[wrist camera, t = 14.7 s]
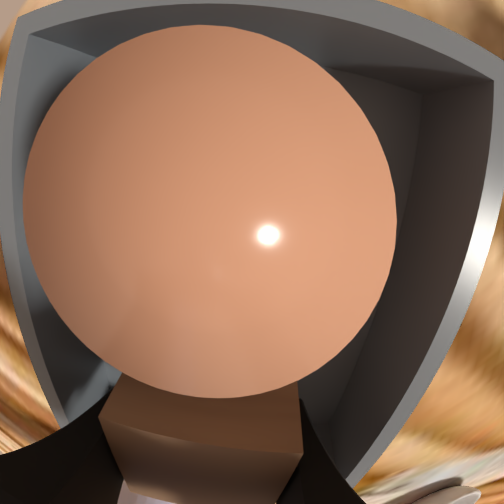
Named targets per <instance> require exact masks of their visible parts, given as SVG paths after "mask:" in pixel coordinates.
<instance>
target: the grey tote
mask: <svg viewBox="0 0 504 504" xmlns="http://www.w3.org/2000/svg"><path fill="white" fill-rule="evenodd" d="M190 25H213V26H226V27H233V28H237V29H242V30H246V31H250V32H254V33H258V34H261V35H264V36H266V37H269V38H271V39H274V40H276V41H279V42H281V43H283V44H286V45H288V46H290V47H291V48H293V49H295V50H296V51H298V52H300V53H301V54H303V55H305V56H306V57H308V58H309V59H311V60H313V61H314V62H316V63H317V64H318V65H319V66H320V67H322V68H323V69H324V70H325V71H326V72H327V73H329V74H330V75H331V76H332V77H333V78H334V79H335V80H337V81H338V82H339V83H340V84H341V85H342V86H343V88H344V89H345V90H346V91H347V92H348V93H349V95H350V96H351V97H352V98H353V99H354V101H355V102H356V103H357V104H358V106H359V107H360V108H361V110H362V111H363V113H364V115H365V116H366V118H367V120H368V121H369V123H370V125H371V126H372V128H373V130H374V131H375V133H376V135H377V137H378V140H379V142H380V144H381V147H382V149H383V152H384V154H385V157H386V160H387V162H388V166H389V170H390V174H391V178H392V182H393V187H394V192H395V202H396V216H397V226H396V240H395V250H394V254H393V259H392V263H391V267H390V272H389V275H388V278H387V281H386V283H385V286H384V288H383V291H382V294H381V296H380V298H379V300H378V302H377V304H376V306H375V308H374V309H373V311H372V313H371V315H370V316H369V318H368V320H367V321H366V322H365V324H364V325H363V326H362V328H361V329H360V330H359V332H358V333H357V334H356V336H355V337H354V338H353V339H352V340H351V341H350V342H349V343H348V344H347V345H346V346H345V347H344V348H343V349H342V350H341V351H340V352H339V353H338V354H337V355H336V356H335V357H333V358H332V359H331V360H330V361H328V362H327V363H326V364H324V365H323V366H322V367H320V368H319V369H317V370H316V371H314V372H312V373H310V374H309V375H307V376H305V377H303V378H302V379H300V380H298V381H297V385H298V395H299V398H301V399H302V400H303V402H304V405H305V407H306V410H307V412H308V415H309V417H310V419H311V422H312V424H313V426H314V428H315V430H316V432H317V434H318V436H319V438H320V440H321V442H322V444H323V446H324V447H325V449H326V451H327V453H328V454H329V456H330V458H331V459H332V461H333V462H334V464H335V466H336V467H337V469H338V470H339V472H340V473H341V474H342V476H343V477H344V478H345V480H346V481H347V482H348V484H349V485H350V486H351V487H352V489H353V488H354V486H355V485H356V484H357V483H358V482H359V481H360V480H361V479H362V478H363V476H364V475H365V474H366V473H367V472H368V471H369V469H370V468H371V467H372V466H373V465H374V463H375V462H376V461H377V460H378V459H379V457H380V456H381V455H382V453H383V452H384V451H385V450H386V448H387V447H388V446H389V444H390V443H391V442H392V440H393V439H394V438H395V436H396V435H397V434H398V432H399V431H400V429H401V428H402V427H403V425H404V424H405V422H406V421H407V419H408V418H409V416H410V415H411V414H412V412H413V410H414V409H415V407H416V406H417V404H418V403H419V401H420V400H421V398H422V396H423V395H424V393H425V391H426V390H427V388H428V386H429V385H430V383H431V381H432V380H433V378H434V376H435V374H436V373H437V371H438V369H439V367H440V365H441V363H442V362H443V360H444V358H445V356H446V354H447V352H448V350H449V348H450V346H451V344H452V342H453V340H454V338H455V336H456V334H457V332H458V329H459V327H460V325H461V323H462V321H463V318H464V316H465V314H466V311H467V309H468V307H469V304H470V302H471V299H472V297H473V294H474V292H475V289H476V286H477V284H478V281H479V278H480V275H481V272H482V270H483V267H484V264H485V261H486V257H487V254H488V251H489V248H490V244H491V241H492V237H493V234H494V230H495V226H496V222H497V218H498V214H499V210H500V205H501V201H502V196H503V191H504V61H503V60H502V59H500V58H499V57H497V56H496V55H494V54H493V53H491V52H489V51H488V50H486V49H484V48H483V47H481V46H479V45H478V44H476V43H474V42H472V41H470V40H469V39H467V38H465V37H463V36H461V35H459V34H457V33H455V32H453V31H451V30H449V29H447V28H445V27H443V26H441V25H439V24H437V23H434V22H432V21H430V20H428V19H425V18H423V17H421V16H418V15H416V14H413V13H411V12H408V11H406V10H403V9H400V8H397V7H395V6H392V5H389V4H386V3H383V2H380V1H377V0H62V1H59V2H56V3H53V4H51V5H48V6H45V7H42V8H40V9H37V10H34V11H32V12H30V13H27V14H25V15H22V16H20V17H18V19H17V22H16V25H15V29H14V32H13V36H12V40H11V44H10V48H9V53H8V57H7V62H6V67H5V72H4V78H3V84H2V90H1V97H0V236H1V243H2V250H3V256H4V262H5V268H6V273H7V278H8V283H9V287H10V292H11V296H12V300H13V304H14V308H15V312H16V316H17V319H18V323H19V326H20V329H21V333H22V336H23V339H24V342H25V345H26V348H27V351H28V354H29V357H30V360H31V362H32V365H33V368H34V370H35V373H36V375H37V378H38V380H39V383H40V385H41V388H42V390H43V392H44V395H45V397H46V399H47V401H48V403H49V406H50V408H51V410H52V412H53V414H54V416H55V418H56V420H57V422H58V424H59V426H60V428H63V427H64V426H66V425H68V424H69V423H70V422H72V421H73V420H75V419H76V418H77V417H79V416H80V415H81V414H83V413H84V412H85V411H87V410H88V409H89V408H90V407H92V406H93V405H94V404H95V403H96V402H97V401H99V400H100V399H101V398H102V397H103V396H104V395H106V394H107V393H108V392H109V391H110V390H111V389H112V388H113V387H114V386H115V385H116V383H117V381H118V379H119V377H120V376H121V374H122V372H121V371H119V370H118V369H116V368H114V367H113V366H111V365H110V364H108V363H107V362H105V361H104V360H103V359H101V358H100V357H99V356H98V355H96V354H95V353H94V352H93V351H91V350H90V349H89V348H88V347H87V346H86V345H85V344H84V343H83V342H82V341H81V340H80V339H79V338H78V337H77V336H76V335H75V334H74V333H73V332H72V331H71V330H70V329H69V327H68V326H67V325H66V324H65V322H64V321H63V320H62V319H61V317H60V316H59V315H58V313H57V312H56V310H55V309H54V307H53V305H52V304H51V302H50V301H49V299H48V297H47V295H46V293H45V292H44V290H43V288H42V286H41V284H40V282H39V279H38V277H37V274H36V272H35V269H34V266H33V264H32V261H31V257H30V253H29V250H28V246H27V242H26V235H25V229H24V222H23V188H24V177H25V172H26V167H27V163H28V158H29V154H30V151H31V148H32V145H33V142H34V139H35V137H36V134H37V132H38V130H39V128H40V126H41V124H42V122H43V120H44V118H45V116H46V114H47V112H48V110H49V109H50V107H51V106H52V104H53V103H54V101H55V100H56V99H57V97H58V96H59V94H60V93H61V92H62V91H63V89H64V88H65V87H66V86H67V85H68V84H69V83H70V82H71V80H72V79H73V78H74V77H75V76H76V75H77V74H78V73H79V72H81V71H82V70H83V69H84V68H85V67H86V66H88V65H89V64H90V63H91V62H93V61H94V60H95V59H96V58H98V57H99V56H101V55H103V54H104V53H106V52H107V51H109V50H111V49H112V48H114V47H116V46H117V45H119V44H121V43H124V42H126V41H128V40H131V39H133V38H136V37H138V36H140V35H143V34H146V33H150V32H154V31H158V30H162V29H166V28H170V27H179V26H190Z"/></svg>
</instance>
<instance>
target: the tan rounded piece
mask: <svg viewBox="0 0 504 504" xmlns="http://www.w3.org/2000/svg"><path fill="white" fill-rule="evenodd" d="M23 222H24V229H25V235H26V242H27V246H28V250H29V253H30V257H31V261H32V264H33V266H34V269H35V272H36V274H37V277H38V279H39V282H40V284H41V286H42V288H43V290H44V292H45V293H46V295H47V297H48V299H49V301H50V302H51V304H52V305H53V307H54V309H55V310H56V312H57V313H58V315H59V316H60V317H61V319H62V320H63V321H64V322H65V324H66V325H67V326H68V327H69V329H70V330H71V331H72V332H73V333H74V334H75V335H76V336H77V337H78V338H79V339H80V340H81V341H82V342H83V343H84V344H85V345H86V346H87V347H88V348H89V349H90V350H91V351H93V352H94V353H95V354H96V355H98V356H99V357H100V358H101V359H103V360H104V361H105V362H107V363H108V364H110V365H111V366H113V367H114V368H116V369H118V370H119V371H121V372H123V373H125V374H126V375H128V376H130V377H132V378H134V379H136V380H138V381H140V382H143V383H145V384H148V385H150V386H153V387H156V388H159V389H162V390H166V391H169V392H173V393H176V394H182V395H188V396H194V397H204V398H235V397H243V396H250V395H256V394H261V393H264V392H268V391H271V390H275V389H278V388H281V387H283V386H286V385H288V384H291V383H293V382H295V381H298V380H300V379H302V378H303V377H305V376H307V375H309V374H310V373H312V372H314V371H316V370H317V369H319V368H320V367H322V366H323V365H324V364H326V363H327V362H328V361H330V360H331V359H332V358H333V357H335V356H336V355H337V354H338V353H339V352H340V351H341V350H342V349H343V348H344V347H345V346H346V345H347V344H348V343H349V342H350V341H351V340H352V339H353V338H354V337H355V336H356V334H357V333H358V332H359V330H360V329H361V328H362V326H363V325H364V324H365V322H366V321H367V320H368V318H369V316H370V315H371V313H372V311H373V309H374V308H375V306H376V304H377V302H378V300H379V298H380V296H381V294H382V291H383V288H384V286H385V283H386V281H387V278H388V275H389V272H390V267H391V263H392V259H393V254H394V250H395V240H396V226H397V216H396V202H395V192H394V187H393V182H392V178H391V174H390V170H389V166H388V162H387V160H386V157H385V154H384V152H383V149H382V147H381V144H380V142H379V140H378V137H377V135H376V133H375V131H374V130H373V128H372V126H371V125H370V123H369V121H368V120H367V118H366V116H365V115H364V113H363V111H362V110H361V108H360V107H359V106H358V104H357V103H356V102H355V101H354V99H353V98H352V97H351V96H350V95H349V93H348V92H347V91H346V90H345V89H344V88H343V86H342V85H341V84H340V83H339V82H338V81H337V80H335V79H334V78H333V77H332V76H331V75H330V74H329V73H327V72H326V71H325V70H324V69H323V68H322V67H320V66H319V65H318V64H317V63H316V62H314V61H313V60H311V59H309V58H308V57H306V56H305V55H303V54H301V53H300V52H298V51H296V50H295V49H293V48H291V47H290V46H288V45H286V44H283V43H281V42H279V41H276V40H274V39H271V38H269V37H266V36H264V35H261V34H258V33H254V32H250V31H246V30H242V29H237V28H233V27H226V26H213V25H190V26H179V27H170V28H166V29H162V30H158V31H154V32H150V33H146V34H143V35H140V36H138V37H136V38H133V39H131V40H128V41H126V42H124V43H121V44H119V45H117V46H116V47H114V48H112V49H111V50H109V51H107V52H106V53H104V54H103V55H101V56H99V57H98V58H96V59H95V60H94V61H93V62H91V63H90V64H89V65H88V66H86V67H85V68H84V69H83V70H82V71H81V72H79V73H78V74H77V75H76V76H75V77H74V78H73V79H72V80H71V82H70V83H69V84H68V85H67V86H66V87H65V88H64V89H63V91H62V92H61V93H60V94H59V96H58V97H57V99H56V100H55V101H54V103H53V104H52V106H51V107H50V109H49V110H48V112H47V114H46V116H45V118H44V120H43V122H42V124H41V126H40V128H39V130H38V132H37V134H36V137H35V139H34V142H33V145H32V148H31V151H30V154H29V158H28V163H27V167H26V172H25V177H24V188H23Z"/></svg>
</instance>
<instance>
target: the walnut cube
mask: <svg viewBox="0 0 504 504" xmlns="http://www.w3.org/2000/svg"><path fill="white" fill-rule="evenodd" d="M98 418H99V420H100V423H101V426H102V429H103V431H104V434H105V436H106V439H107V442H108V444H109V446H110V449H111V451H112V454H113V456H114V458H115V461H116V463H117V465H118V467H119V470H120V472H121V474H122V476H123V478H124V480H125V482H126V484H127V486H128V488H129V490H130V492H133V493H136V494H139V495H143V496H147V497H150V498H154V499H158V500H162V501H166V502H171V503H175V504H275V503H276V501H277V500H278V498H279V496H280V495H281V493H282V491H283V490H284V488H285V486H286V484H287V483H288V481H289V479H290V477H291V476H292V474H293V472H294V470H295V468H296V466H297V465H298V463H299V461H300V459H301V457H302V455H303V441H302V429H301V417H300V406H299V395H298V385H297V381H295V382H293V383H291V384H288V385H286V386H283V387H281V388H278V389H275V390H271V391H268V392H264V393H261V394H256V395H250V396H243V397H235V398H204V397H194V396H188V395H182V394H176V393H173V392H169V391H166V390H162V389H159V388H156V387H153V386H150V385H148V384H145V383H143V382H140V381H138V380H136V379H134V378H132V377H130V376H128V375H126V374H125V373H123V372H122V374H121V376H120V377H119V379H118V381H117V383H116V385H115V386H114V388H113V390H112V392H111V394H110V396H109V397H108V399H107V401H106V403H105V405H104V407H103V409H102V411H101V412H100V414H99V416H98Z"/></svg>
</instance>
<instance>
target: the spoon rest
mask: <svg viewBox="0 0 504 504" xmlns="http://www.w3.org/2000/svg"><path fill="white" fill-rule="evenodd" d="M480 496H481V491H480V490H478V489H476V488H473V487H469V486H455V487H450V488H445V489H442V490H439V491H437V492H434V493H432V494H430V495H427V496H425V497H423V498H421V499H419V500H418V501H416V502H414V503H412V504H474V503H475V502H476V501H477V500H478V499H479V498H480Z"/></svg>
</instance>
